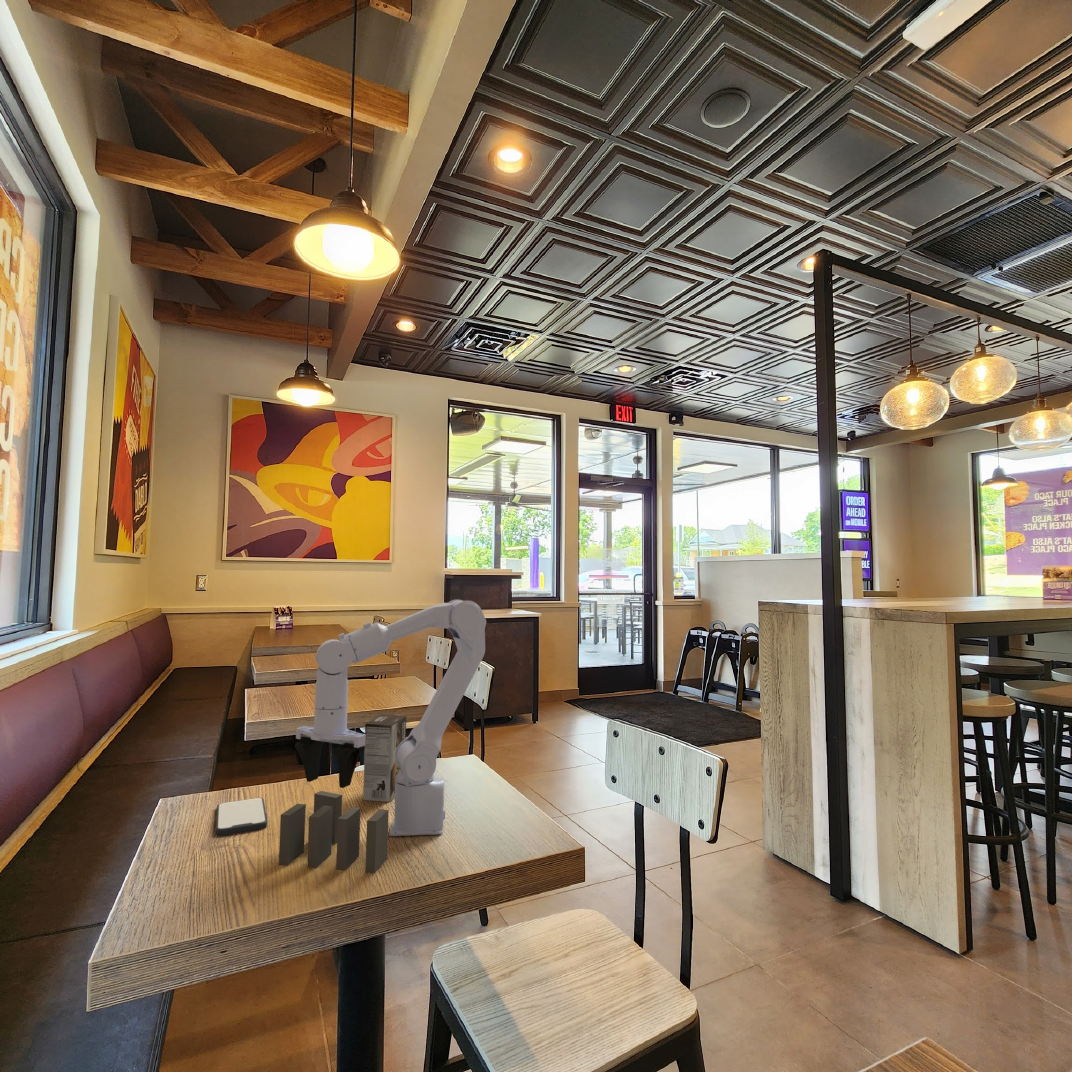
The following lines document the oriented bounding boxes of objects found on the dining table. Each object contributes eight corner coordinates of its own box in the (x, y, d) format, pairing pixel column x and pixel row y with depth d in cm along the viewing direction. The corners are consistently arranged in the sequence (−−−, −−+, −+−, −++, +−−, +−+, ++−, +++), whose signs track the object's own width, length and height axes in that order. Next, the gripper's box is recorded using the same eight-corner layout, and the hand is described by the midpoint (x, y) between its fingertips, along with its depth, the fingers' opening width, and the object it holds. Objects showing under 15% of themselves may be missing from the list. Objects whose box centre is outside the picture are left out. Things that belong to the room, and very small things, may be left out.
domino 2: (331, 854, 102) (332, 806, 102) (316, 868, 97) (318, 817, 97) (322, 853, 102) (324, 805, 102) (307, 867, 97) (308, 816, 97)
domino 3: (359, 856, 101) (360, 807, 101) (345, 870, 96) (346, 819, 96) (350, 856, 101) (351, 807, 102) (336, 870, 96) (337, 818, 97)
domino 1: (304, 852, 102) (305, 804, 103) (287, 865, 97) (289, 815, 98) (295, 851, 102) (297, 803, 103) (278, 865, 98) (280, 814, 98)
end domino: (319, 835, 109) (320, 790, 110) (340, 840, 107) (342, 794, 108) (312, 839, 107) (314, 793, 108) (334, 844, 105) (335, 797, 106)
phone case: (216, 811, 122) (214, 839, 108) (216, 803, 122) (214, 830, 108) (263, 804, 126) (268, 830, 112) (263, 796, 126) (268, 821, 112)
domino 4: (387, 859, 100) (388, 809, 101) (374, 873, 95) (376, 821, 96) (378, 858, 100) (379, 809, 101) (365, 872, 95) (366, 820, 96)
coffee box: (378, 786, 136) (380, 713, 137) (405, 787, 135) (407, 714, 136) (361, 800, 127) (363, 723, 128) (390, 802, 126) (392, 724, 127)
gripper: (284, 707, 108) (281, 784, 107) (347, 714, 103) (344, 796, 101) (313, 700, 115) (310, 772, 114) (374, 707, 109) (371, 783, 108)
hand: (328, 783), depth 108 cm, fingers open, 7 cm apart
